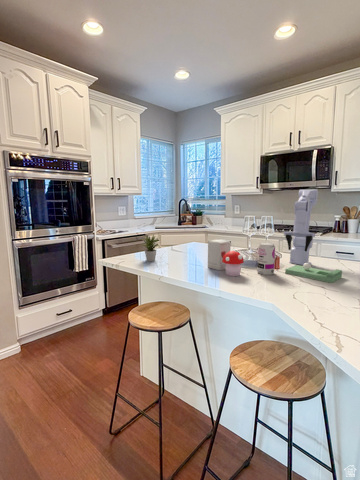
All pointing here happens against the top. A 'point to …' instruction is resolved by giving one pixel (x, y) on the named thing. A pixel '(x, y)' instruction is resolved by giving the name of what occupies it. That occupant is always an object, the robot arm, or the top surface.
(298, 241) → the robot arm
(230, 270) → the mushroom
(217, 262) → the supplement box
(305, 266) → the ball
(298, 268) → the green holed board
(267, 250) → the supplement can
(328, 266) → the top surface
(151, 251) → the house plant
